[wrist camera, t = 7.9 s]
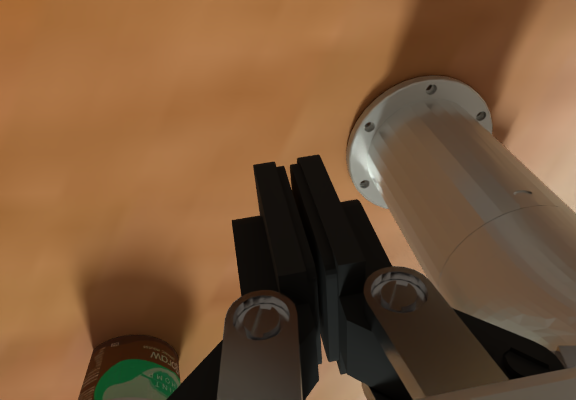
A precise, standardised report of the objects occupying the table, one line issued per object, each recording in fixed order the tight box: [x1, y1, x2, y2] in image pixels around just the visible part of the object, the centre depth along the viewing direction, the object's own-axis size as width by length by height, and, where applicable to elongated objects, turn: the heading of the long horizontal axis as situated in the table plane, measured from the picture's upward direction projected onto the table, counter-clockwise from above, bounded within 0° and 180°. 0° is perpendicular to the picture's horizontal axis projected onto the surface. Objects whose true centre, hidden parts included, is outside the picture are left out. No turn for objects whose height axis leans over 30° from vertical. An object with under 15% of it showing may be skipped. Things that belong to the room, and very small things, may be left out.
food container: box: [78, 335, 180, 400], centre depth 48 cm, size 12×6×10 cm, turn 46°
